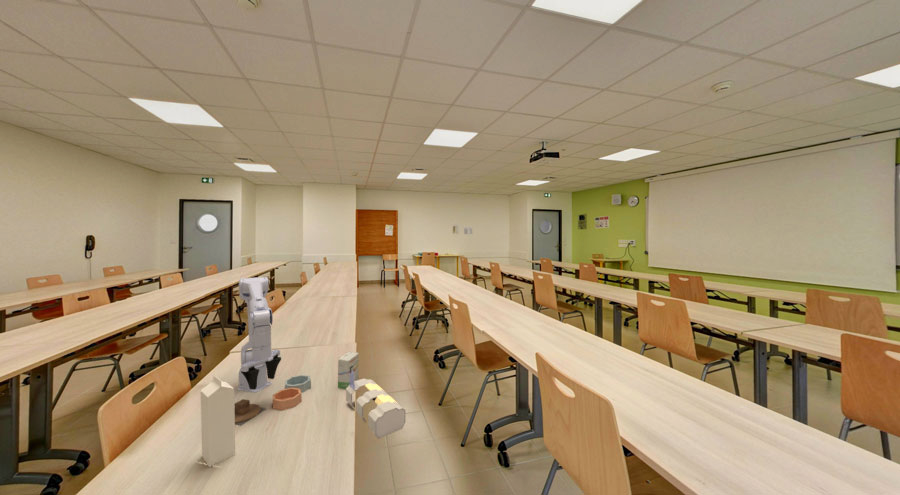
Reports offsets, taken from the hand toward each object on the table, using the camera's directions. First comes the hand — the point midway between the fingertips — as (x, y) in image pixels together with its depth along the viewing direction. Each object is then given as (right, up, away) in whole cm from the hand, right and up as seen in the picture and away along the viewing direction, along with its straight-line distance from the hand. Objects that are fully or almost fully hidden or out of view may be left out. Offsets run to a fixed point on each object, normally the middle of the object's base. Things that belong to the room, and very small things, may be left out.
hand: (262, 383), depth 106 cm
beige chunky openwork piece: (+39, -10, -2) cm, 41 cm away
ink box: (+23, -9, +20) cm, 32 cm away
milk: (+2, -11, -22) cm, 24 cm away
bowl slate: (+5, -9, +15) cm, 18 cm away
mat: (-5, -10, -3) cm, 11 cm away
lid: (-5, -9, -3) cm, 11 cm away
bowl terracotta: (+6, -9, +5) cm, 12 cm away
